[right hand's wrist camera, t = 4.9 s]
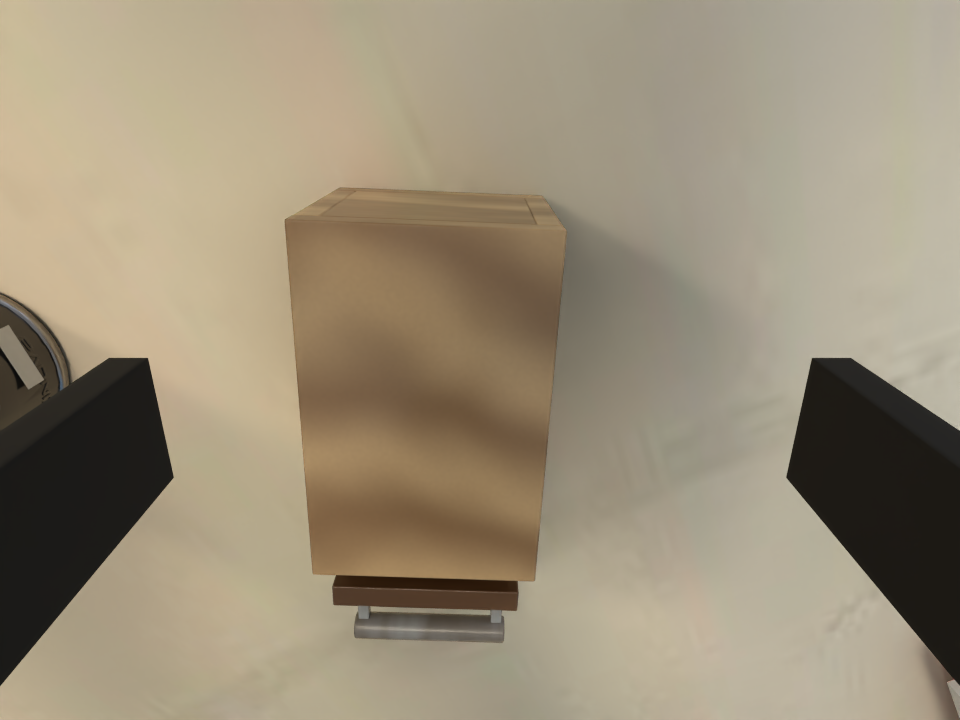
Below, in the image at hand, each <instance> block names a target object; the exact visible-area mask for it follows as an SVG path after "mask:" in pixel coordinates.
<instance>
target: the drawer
mask: <svg viewBox="0 0 960 720" xmlns="http://www.w3.org/2000/svg"><path fill="white" fill-rule="evenodd" d="M332 589H333V604H334V605H347V606H358V612H357V614H356V618H355V626H354V635H355V638H360V639H393V640H426V641H458V642H491V643H503V641H504V616H502V610H507V611H517V605H518V581H507V580H476V579H445V578H414V577H382V576H351V575H336V577H335V580H334V583H333V586H332ZM370 606H379V607H411V608H443V609H475V610H491V615H466V614H434V613H402V612H370Z"/></svg>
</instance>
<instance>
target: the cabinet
mask: <svg viewBox="0 0 960 720" xmlns="http://www.w3.org/2000/svg"><path fill="white" fill-rule="evenodd" d="M285 231H286V244H287V256H288V269H289V281H290V294H291V306H292V319H293V332H294V344H295V357H296V369H297V382H298V394H299V407H300V420H301V432H302V445H303V457H304V470H305V482H306V495H307V508H308V520H309V533H310V545H311V558H312V570H313V574H320V575H351V576H382V577H414V578H445V579H476V580H507V581H535V573H536V562H537V551H538V541H539V530H540V519H541V508H542V497H543V486H544V476H545V465H546V454H547V443H548V432H549V421H550V411H551V400H552V389H553V378H554V367H555V356H556V346H557V335H558V324H559V313H560V302H561V291H562V281H563V270H564V259H565V248H566V237H567V231H566V229H565V228H564V226H563V225H562V224H561V222H560V221H559V219H558V218H557V216H556V215H555V213H554V212H553V210H552V209H551V207H550V206H549V204H548V203H547V202H546V200H545V199H544V197H543V196H534V195H510V194H485V193H460V192H436V191H411V190H386V189H362V188H338V189H337V190H335V191H333V192H332V193H330V194H328V195H327V196H325V197H323V198H321V199H320V200H318V201H316V202H315V203H313V204H311V205H309V206H308V207H306V208H304V209H303V210H301V211H299V212H298V213H296V214H294V215H292V216H290V217H289V218H287V219H285Z"/></svg>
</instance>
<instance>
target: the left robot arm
mask: <svg viewBox="0 0 960 720" xmlns="http://www.w3.org/2000/svg"><path fill="white" fill-rule="evenodd" d="M68 385H69V377H68V371H67V367H66V363H65V360H64V357H63V355H62V353H61V351H60V348H59V346H58V345H57V343H56V341H55V340H54V338H53V337H52V335H51V334H50V333H49V331H48V330H47V329H46V328H45V327H44V325H43V324H42V323H41V322H40V321H39V320H38V319H37V318H36V317H34V316H33V315H32V314H31V313H30V312H29V311H27V310H26V309H25V308H23V307H22V306H21V305H19V304H17V303H16V302H14V301H13V300H11V299H9V298H7V297H5V296H3V295H1V294H0V431H1V430H3V429H4V428H6V427H7V426H9V425H10V424H12V423H13V422H14V421H16V420H17V419H19V418H20V417H22V416H23V415H25V414H26V413H28V412H29V411H31V410H32V409H34V408H35V407H37V406H38V405H40V404H41V403H43V402H44V401H46V400H47V399H49V398H50V397H52V396H53V395H55V394H56V393H58V392H59V391H61V390H62V389H64V388H65V387H67V386H68Z"/></svg>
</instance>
